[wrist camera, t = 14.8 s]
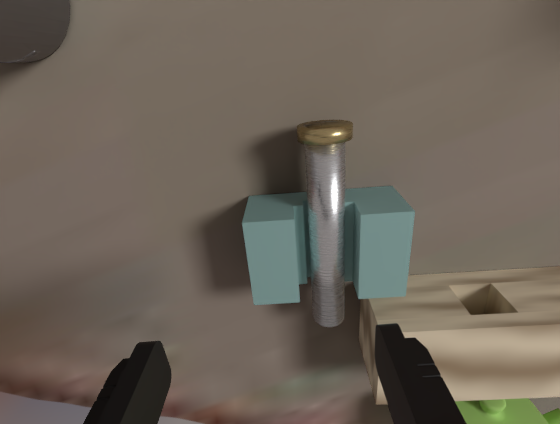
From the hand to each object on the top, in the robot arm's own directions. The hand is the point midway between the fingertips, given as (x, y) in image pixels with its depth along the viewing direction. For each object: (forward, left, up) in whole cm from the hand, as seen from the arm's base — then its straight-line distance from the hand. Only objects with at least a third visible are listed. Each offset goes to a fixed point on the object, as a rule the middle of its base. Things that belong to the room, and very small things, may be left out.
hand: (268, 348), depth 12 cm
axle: (+4, +4, -17) cm, 17 cm away
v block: (+5, +4, -19) cm, 20 cm away
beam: (+16, +18, -19) cm, 30 cm away
